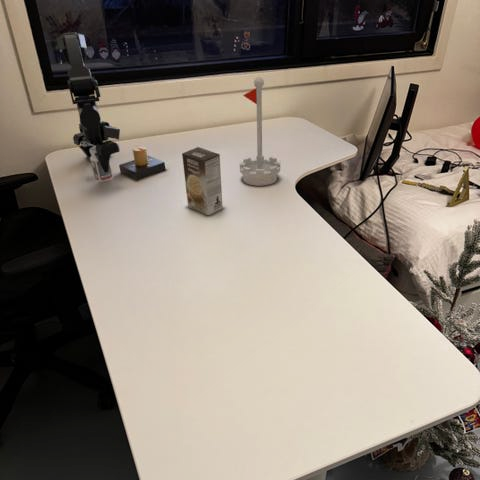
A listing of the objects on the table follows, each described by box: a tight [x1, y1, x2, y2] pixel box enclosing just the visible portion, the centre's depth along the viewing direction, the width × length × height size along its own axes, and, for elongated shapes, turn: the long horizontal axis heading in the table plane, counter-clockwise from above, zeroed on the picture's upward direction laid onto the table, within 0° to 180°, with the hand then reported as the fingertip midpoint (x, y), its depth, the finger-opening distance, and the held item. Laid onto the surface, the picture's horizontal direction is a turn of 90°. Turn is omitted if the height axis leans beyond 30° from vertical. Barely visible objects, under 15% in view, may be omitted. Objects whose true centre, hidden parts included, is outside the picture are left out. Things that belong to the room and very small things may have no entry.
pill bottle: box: [89, 147, 113, 183], centre depth 150 cm, size 6×6×10 cm
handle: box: [132, 145, 148, 166], centre depth 156 cm, size 4×4×5 cm
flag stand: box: [239, 76, 281, 187], centre depth 141 cm, size 13×13×30 cm
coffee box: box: [181, 146, 224, 216], centre depth 130 cm, size 9×6×16 cm
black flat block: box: [118, 155, 166, 181], centre depth 159 cm, size 10×12×3 cm
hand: (101, 169), depth 151 cm, fingers closed on pill bottle, 6 cm apart
